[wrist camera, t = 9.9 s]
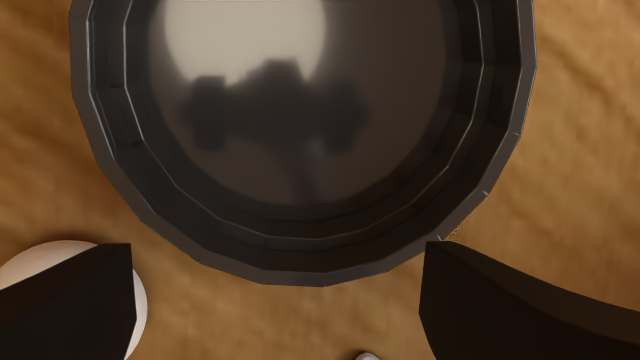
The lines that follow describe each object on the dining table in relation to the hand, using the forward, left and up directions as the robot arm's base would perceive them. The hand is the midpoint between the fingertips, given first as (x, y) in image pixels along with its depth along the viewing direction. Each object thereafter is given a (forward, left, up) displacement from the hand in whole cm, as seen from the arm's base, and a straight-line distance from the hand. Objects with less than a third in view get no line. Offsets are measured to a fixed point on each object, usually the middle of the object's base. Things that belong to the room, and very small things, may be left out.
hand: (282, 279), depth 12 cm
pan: (+2, -4, -9) cm, 10 cm away
